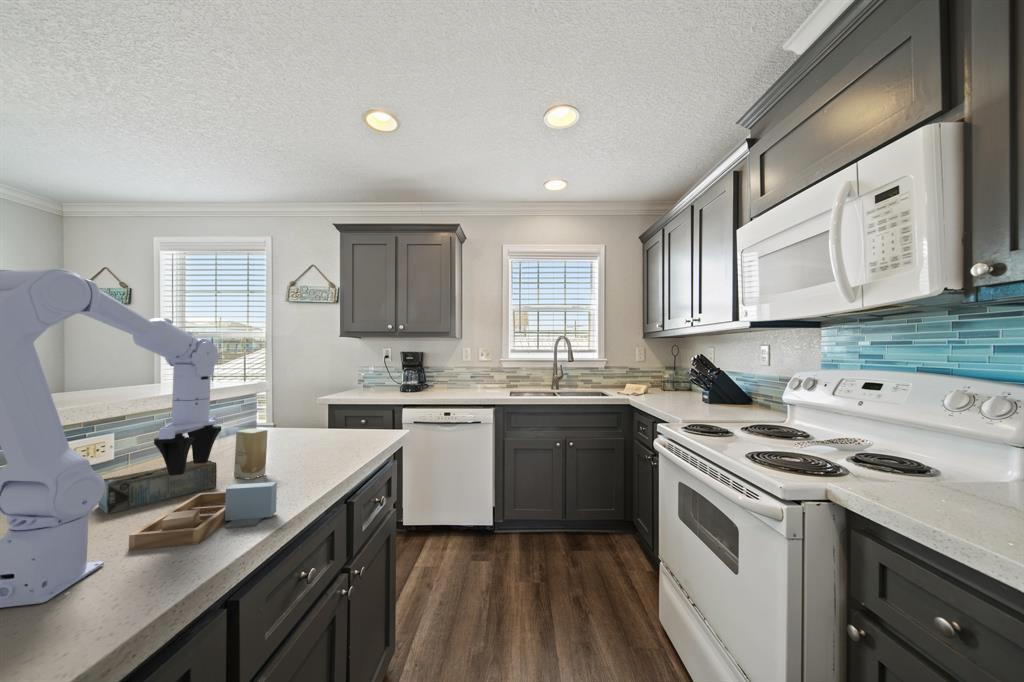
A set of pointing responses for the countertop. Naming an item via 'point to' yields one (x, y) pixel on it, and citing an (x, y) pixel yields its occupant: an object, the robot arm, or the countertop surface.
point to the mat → (243, 523)
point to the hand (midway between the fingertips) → (189, 468)
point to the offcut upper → (181, 520)
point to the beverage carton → (156, 486)
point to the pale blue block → (250, 501)
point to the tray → (155, 538)
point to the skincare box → (250, 453)
